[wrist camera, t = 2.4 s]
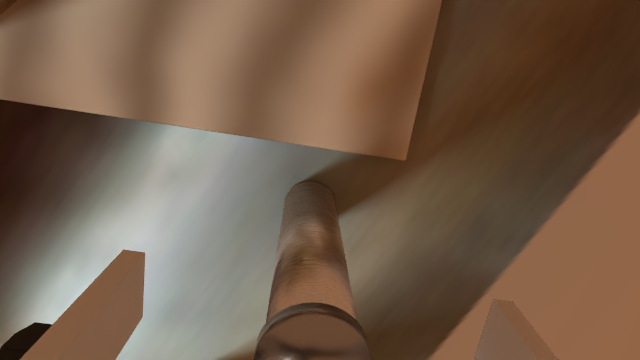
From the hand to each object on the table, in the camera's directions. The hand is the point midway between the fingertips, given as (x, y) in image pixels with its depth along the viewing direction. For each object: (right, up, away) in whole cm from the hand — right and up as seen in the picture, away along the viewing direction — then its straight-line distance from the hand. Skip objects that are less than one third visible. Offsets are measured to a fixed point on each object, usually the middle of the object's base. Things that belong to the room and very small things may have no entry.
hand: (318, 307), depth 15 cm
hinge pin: (-1, +3, +10) cm, 11 cm away
